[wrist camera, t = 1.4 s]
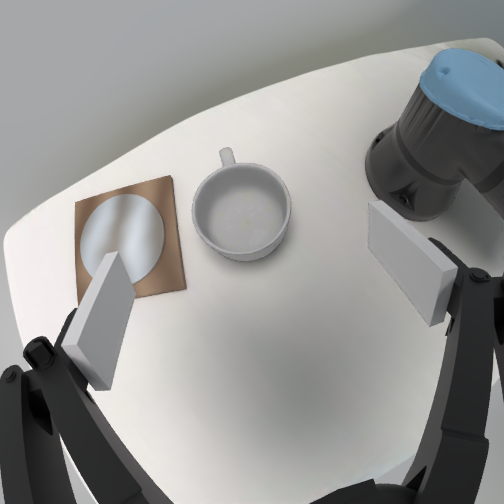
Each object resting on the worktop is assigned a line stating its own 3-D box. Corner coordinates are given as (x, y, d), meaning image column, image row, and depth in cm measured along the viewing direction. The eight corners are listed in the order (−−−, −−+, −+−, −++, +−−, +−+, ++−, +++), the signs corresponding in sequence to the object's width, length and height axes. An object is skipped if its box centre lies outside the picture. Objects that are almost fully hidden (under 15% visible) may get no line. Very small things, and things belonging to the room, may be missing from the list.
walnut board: (172, 178, 43) (168, 172, 41) (186, 288, 39) (182, 286, 37) (78, 205, 43) (72, 200, 41) (82, 307, 39) (75, 305, 37)
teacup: (290, 265, 39) (296, 249, 32) (205, 271, 40) (191, 257, 32) (279, 167, 43) (281, 135, 35) (203, 174, 43) (191, 143, 35)
